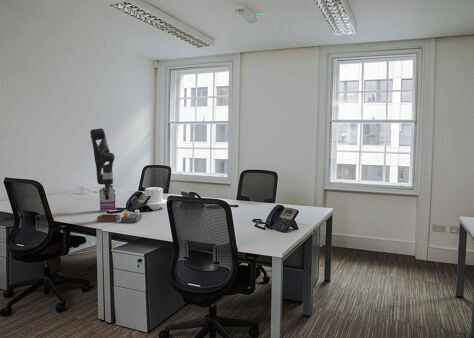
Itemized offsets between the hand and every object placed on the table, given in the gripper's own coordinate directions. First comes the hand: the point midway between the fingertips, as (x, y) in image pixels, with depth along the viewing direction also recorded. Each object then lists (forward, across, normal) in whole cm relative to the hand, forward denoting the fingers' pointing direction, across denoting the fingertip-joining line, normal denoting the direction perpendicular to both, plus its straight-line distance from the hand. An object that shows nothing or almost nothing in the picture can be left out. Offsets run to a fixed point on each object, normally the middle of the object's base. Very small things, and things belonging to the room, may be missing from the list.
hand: (108, 199), depth 289 cm
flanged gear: (+17, -50, +24) cm, 58 cm away
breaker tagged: (+13, +3, +15) cm, 20 cm away
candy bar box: (+8, 0, 0) cm, 8 cm away
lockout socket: (+17, 0, 0) cm, 17 cm away
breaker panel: (+17, -1, +18) cm, 25 cm away
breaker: (+13, -5, +21) cm, 25 cm away
